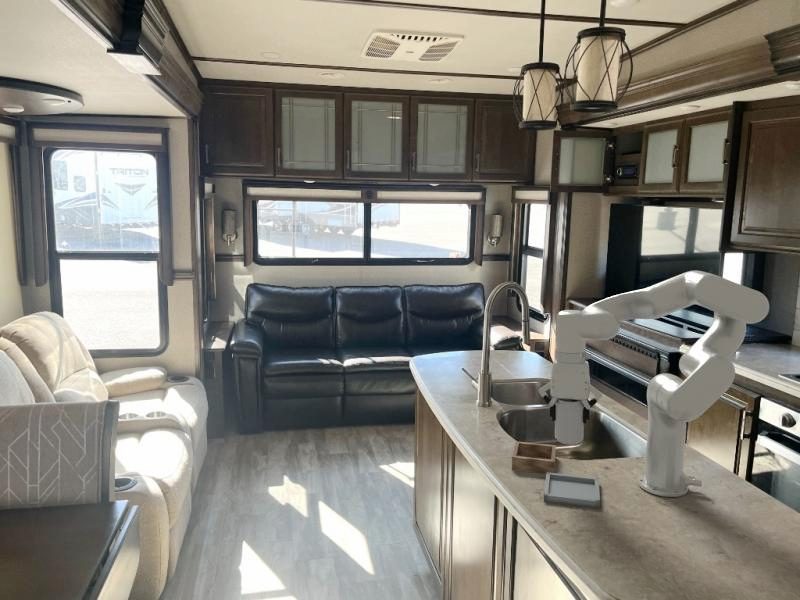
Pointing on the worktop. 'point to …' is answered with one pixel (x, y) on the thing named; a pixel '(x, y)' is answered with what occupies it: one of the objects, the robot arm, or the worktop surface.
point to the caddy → (534, 463)
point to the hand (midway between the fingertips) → (569, 420)
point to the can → (569, 421)
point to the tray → (572, 490)
